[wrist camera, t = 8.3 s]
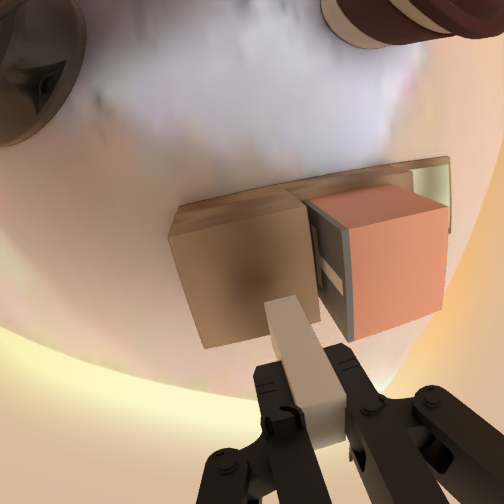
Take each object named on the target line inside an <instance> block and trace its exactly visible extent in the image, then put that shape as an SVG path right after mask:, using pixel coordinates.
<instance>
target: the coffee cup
mask: <svg viewBox="0 0 504 504" xmlns="http://www.w3.org/2000/svg"><path fill="white" fill-rule="evenodd" d="M321 8H322V12H323V15H324V18H325V20H326V22H327V23H328V25H329V26H330V28H331V29H332V30H333V31H334V32H335V33H336V34H337V35H338V36H339V37H340V38H342V39H343V40H345V41H346V42H348V43H350V44H352V45H354V46H357V47H360V48H366V49H377V48H381V47H385V46H389V45H406V44H411V43H416V42H421V41H427V40H433V39H439V38H446V37H452V36H455V35H457V36H461V37H464V38H469V39H482V38H488V37H494V36H498V35H500V34H502V33H503V32H504V0H321Z"/></svg>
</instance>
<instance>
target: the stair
mask: <svg viewBox="0 0 504 504" xmlns="http://www.w3.org/2000/svg"><path fill="white" fill-rule="evenodd" d="M385 184H392V185H394V186H397V187H400V188H403V189H405V190H408V191H411V192H413V193H416V194H419V195H421V196H424V197H426V198H429V199H431V200H434V201H436V202H439V203H441V204H444V205H446V206H449V225H448V234H450V233H451V168H450V157H448V156H446V157H438V158H430V159H422V160H415V161H407V162H400V163H394V164H387V165H381V166H374V167H368V168H362V169H356V170H350V171H344V172H338V173H333V174H327V175H322V176H316V177H311V178H306V179H300V180H295V181H290V182H285V183H280V184H275V185H271V186H266V187H261V188H256V189H252V190H247V191H243V192H238V193H234V194H229V195H225V196H220V197H216V198H212V199H208V200H203V201H199V202H195V203H191V204H187V205H183V206H179V208H178V211H177V214H176V216H175V219H174V222H173V224H172V227H171V230H170V233H169V235H168V241H169V244H170V248H171V251H172V254H173V258H174V261H175V264H176V267H177V270H178V274H179V277H180V280H181V283H182V286H183V289H184V292H185V295H186V298H187V301H188V304H189V307H190V310H191V313H192V316H193V319H194V322H195V325H196V328H197V331H198V333H199V336H200V339H201V342H202V345H203V347H204V349H208V348H213V347H217V346H222V345H227V344H231V343H236V342H240V341H245V340H249V339H253V338H258V337H262V336H266V335H270V330H269V325H268V321H267V316H266V311H265V306H264V302H267V301H271V300H276V299H280V298H284V297H288V296H292V295H296V297H297V299H298V301H299V303H300V305H301V307H302V309H303V311H304V313H305V315H306V317H307V319H308V321H309V322H310V324H312V323H316V322H320V321H321V320H320V310H319V300H318V291H317V282H316V274H315V266H314V258H313V250H312V242H311V235H310V227H309V220H308V213H307V207H306V205H305V204H303V203H302V200H307V199H312V198H317V197H322V196H327V195H332V194H337V193H342V192H347V191H353V190H358V189H363V188H369V187H374V186H380V185H385Z"/></svg>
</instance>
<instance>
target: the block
mask: <svg viewBox="0 0 504 504" xmlns="http://www.w3.org/2000/svg"><path fill="white" fill-rule="evenodd" d="M302 203H303V204H305V205H306V207H307V213H308V220H309V227H310V235H311V242H312V250H313V258H314V266H315V274H316V282H317V291H318V296H319V298H320V299H321V301H322V302H323V304H324V305H325V307H326V309H327V310H328V312H329V313H330V315H331V316H332V318H333V320H334V321H335V323H336V324H337V326H338V328H339V329H340V331H341V332H342V334H343V336H344V337H345V339H346V340H347V342H348V343H349V342H352V341H355V340H358V339H361V338H365V337H368V336H371V335H374V334H377V333H380V332H382V331H385V330H388V329H391V328H394V327H397V326H400V325H402V324H405V323H408V322H410V321H413V320H416V319H418V318H421V317H424V316H426V315H429V314H431V313H434V312H436V311H439V310H441V309H442V302H443V294H444V285H445V275H446V263H447V248H448V225H449V206H446V205H444V204H441V203H439V202H436V201H434V200H431V199H429V198H426V197H424V196H421V195H419V194H416V193H413V192H411V191H408V190H405V189H403V188H400V187H397V186H394V185H392V184H385V185H380V186H374V187H369V188H363V189H358V190H353V191H347V192H342V193H337V194H332V195H327V196H322V197H317V198H312V199H307V200H302Z"/></svg>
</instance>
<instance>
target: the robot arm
mask: <svg viewBox="0 0 504 504" xmlns="http://www.w3.org/2000/svg"><path fill="white" fill-rule="evenodd" d="M85 43H86V29H85V22H84V18H83V15H82V12H81V10H80V8H79V6H78V5H77V3H76V2H75V1H74V0H0V147H3V146H9V145H13V144H16V143H19V142H21V141H23V140H25V139H27V138H29V137H30V136H32V135H33V134H35V133H36V132H37V131H39V130H40V129H41V128H42V127H43V126H44V125H45V124H46V123H47V122H48V121H49V120H50V119H51V118H52V117H53V116H54V115H55V113H56V112H57V111H58V110H59V108H60V107H61V105H62V104H63V103H64V101H65V99H66V98H67V96H68V94H69V93H70V91H71V89H72V87H73V85H74V83H75V80H76V78H77V76H78V73H79V70H80V67H81V64H82V60H83V56H84V51H85ZM264 306H265V311H266V316H267V321H268V325H269V330H270V335H271V340H272V344H273V349H274V352H275V355H276V358H277V362H272V363H268V364H264V365H260V366H256V369H255V372H254V375H253V378H254V383H255V388H256V393H257V398H258V403H259V407H260V412H261V428H262V434H261V435H260V437H259V438H258V439H257V440H256V441H255V442H254V443H252V444H251V445H249V446H247V447H245V448H243V449H241V450H238V449H234V448H224V449H220V450H218V451H216V452H214V453H213V454H212V455H210V456H209V458H208V459H207V461H206V463H205V468H204V472H203V476H202V480H201V484H200V489H199V493H198V497H197V501H196V504H262V497H263V496H265V495H267V494H269V493H271V492H273V491H275V490H277V494H278V499H279V503H280V504H332V502H331V499H330V496H329V493H328V490H327V487H326V485H325V482H324V479H323V476H322V473H321V470H320V467H319V464H318V461H317V458H316V455H315V453H314V450H316V449H319V448H323V447H326V446H329V445H333V444H336V443H339V442H342V441H345V440H346V435H347V438H348V440H349V442H350V448H349V460H350V462H351V461H352V460H354V462H355V465H356V467H357V469H358V472H359V474H360V477H361V479H362V481H363V483H364V486H365V488H366V491H367V493H368V496H369V498H370V500H371V503H372V504H449V502H448V500H447V498H446V496H445V495H444V493H443V491H442V489H441V488H440V486H439V484H438V483H437V481H438V482H439V483H440V484H441V485H442V486H443V487H444V488H445V489H446V490H447V491H448V492H449V493H450V494H451V495H453V497H454V498H456V500H458V502H460V503H461V504H504V435H503V434H502V433H501V432H499V431H498V430H496V429H495V428H494V427H493V426H492V425H490V424H489V423H488V422H486V421H485V420H484V419H483V418H481V417H480V416H479V415H477V414H476V413H475V412H474V411H472V410H471V409H470V408H468V407H467V406H466V405H465V404H463V403H462V402H461V401H460V400H458V399H457V398H456V397H454V396H453V395H452V394H451V393H449V392H448V391H447V390H445V389H443V388H442V387H440V386H435V385H429V386H425V387H423V388H421V389H419V390H418V391H417V392H416V394H415V396H414V397H411V398H404V399H390V398H386V397H385V396H384V395H382V394H379V393H378V392H377V391H376V389H375V388H374V386H373V384H372V383H371V381H370V379H369V378H368V376H367V374H366V373H365V371H364V369H363V368H362V366H361V365H360V363H359V361H358V360H357V359H356V356H355V355H354V353H353V351H352V350H351V349H350V348H349V347H347V346H346V345H344V344H343V343H339V344H336V345H332V346H329V347H325V348H322V346H321V344H320V342H319V340H318V338H317V336H316V334H315V332H314V330H313V328H312V326H311V324H310V322H309V321H308V319H307V317H306V315H305V313H304V311H303V309H302V307H301V305H300V303H299V301H298V299H297V297H296V295H292V296H288V297H284V298H280V299H276V300H271V301H267V302H264Z"/></svg>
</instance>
